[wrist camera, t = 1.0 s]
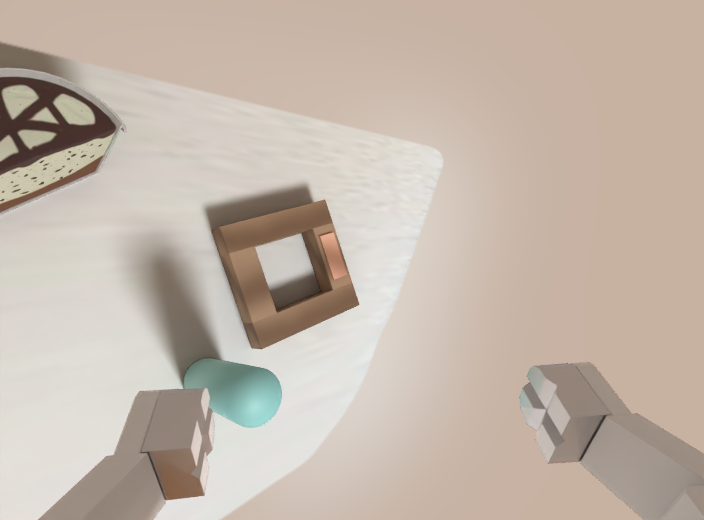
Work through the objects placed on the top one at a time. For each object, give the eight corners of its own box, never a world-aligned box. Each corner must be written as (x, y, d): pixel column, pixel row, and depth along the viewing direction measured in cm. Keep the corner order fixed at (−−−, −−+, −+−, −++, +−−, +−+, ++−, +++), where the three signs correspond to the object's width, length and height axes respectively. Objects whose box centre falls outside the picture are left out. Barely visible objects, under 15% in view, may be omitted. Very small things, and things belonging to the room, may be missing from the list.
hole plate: (211, 231, 42) (220, 226, 40) (313, 205, 49) (326, 199, 46) (251, 348, 43) (262, 349, 40) (346, 305, 49) (360, 304, 47)
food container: (69, 101, 37) (73, 35, 28) (114, 165, 38) (130, 120, 30) (-110, 160, 30) (-173, 97, 22) (-49, 236, 31) (-86, 203, 23)
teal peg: (177, 369, 39) (218, 383, 29) (219, 351, 41) (271, 358, 31) (191, 411, 39) (237, 439, 29) (233, 390, 41) (289, 409, 31)
